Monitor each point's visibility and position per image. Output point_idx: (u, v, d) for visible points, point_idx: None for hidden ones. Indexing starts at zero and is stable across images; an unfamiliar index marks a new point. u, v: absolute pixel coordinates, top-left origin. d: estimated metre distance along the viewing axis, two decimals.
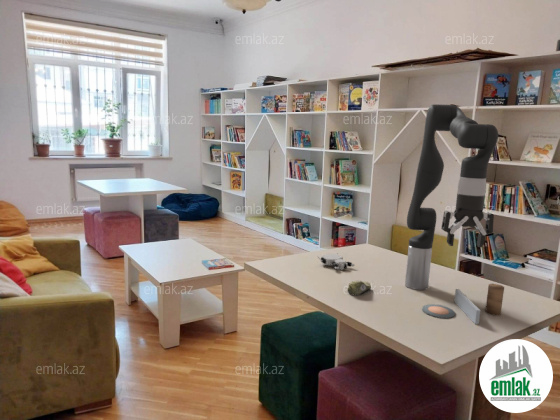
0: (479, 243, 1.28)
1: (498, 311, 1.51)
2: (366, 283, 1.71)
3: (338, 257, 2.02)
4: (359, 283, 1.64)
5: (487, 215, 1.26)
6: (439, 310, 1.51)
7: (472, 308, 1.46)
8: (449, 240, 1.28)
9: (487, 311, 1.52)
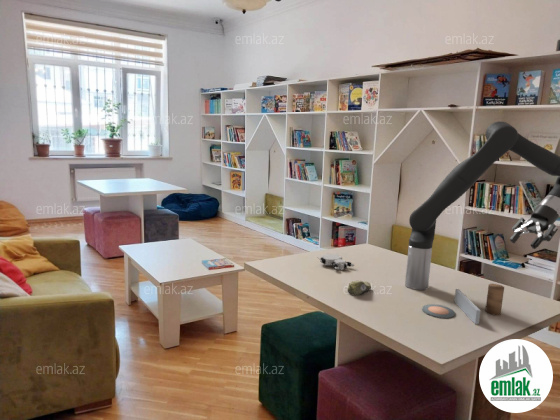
0: (515, 240, 1.56)
1: (498, 311, 1.51)
2: (366, 283, 1.71)
3: (338, 257, 2.02)
4: (359, 283, 1.64)
5: None
6: (439, 310, 1.51)
7: (472, 308, 1.46)
8: None
9: (487, 311, 1.52)
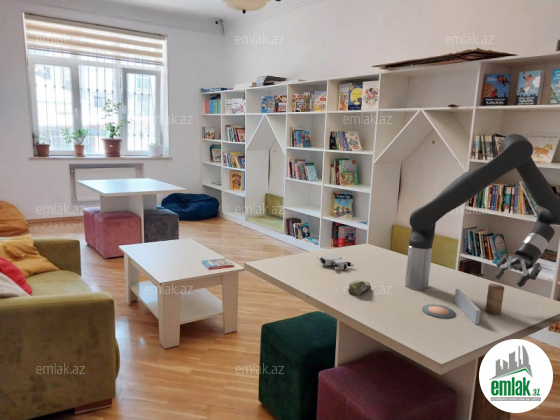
0: (500, 276, 1.58)
1: (498, 311, 1.51)
2: (366, 283, 1.72)
3: (337, 257, 2.02)
4: (360, 283, 1.65)
5: None
6: (439, 310, 1.51)
7: (472, 308, 1.46)
8: None
9: (487, 311, 1.52)
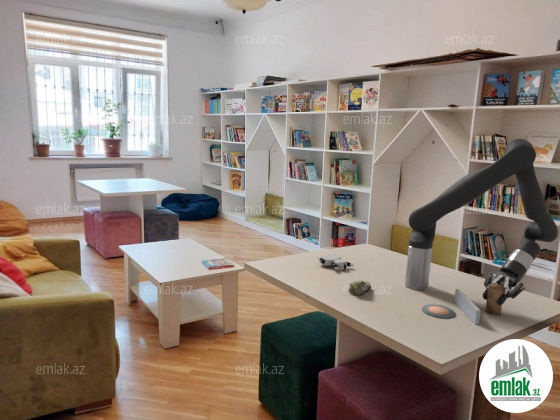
0: None
1: (498, 311, 1.51)
2: (366, 282, 1.72)
3: (337, 257, 2.02)
4: (361, 283, 1.65)
5: None
6: (439, 310, 1.51)
7: (472, 308, 1.46)
8: None
9: (487, 311, 1.52)
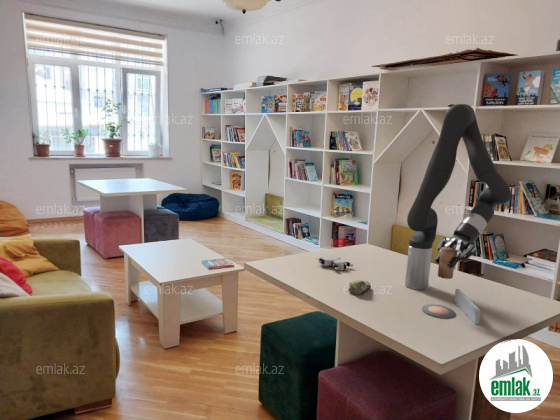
0: None
1: (449, 274, 1.48)
2: (366, 282, 1.72)
3: (336, 257, 2.02)
4: (360, 283, 1.65)
5: None
6: (439, 310, 1.51)
7: (472, 308, 1.46)
8: None
9: (439, 275, 1.49)
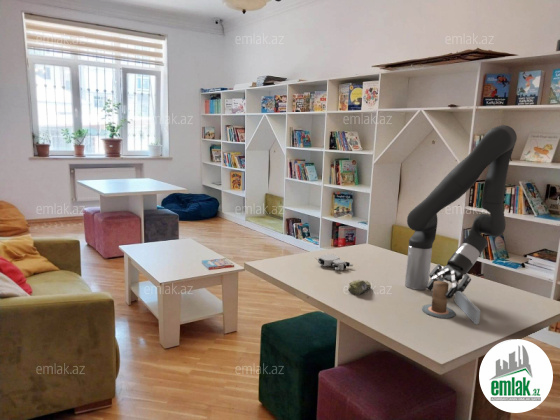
0: (431, 288, 1.54)
1: (443, 308, 1.50)
2: (366, 282, 1.72)
3: (335, 257, 2.01)
4: (360, 282, 1.65)
5: None
6: None
7: (472, 308, 1.46)
8: None
9: (432, 308, 1.51)
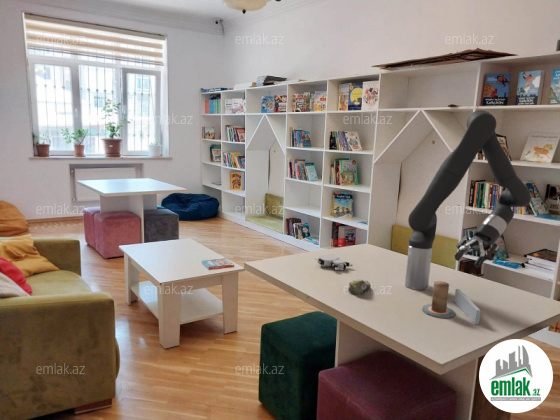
0: (459, 258, 1.58)
1: (443, 309, 1.49)
2: (366, 282, 1.73)
3: (335, 258, 2.01)
4: (360, 282, 1.65)
5: None
6: None
7: (472, 308, 1.46)
8: None
9: (432, 309, 1.51)
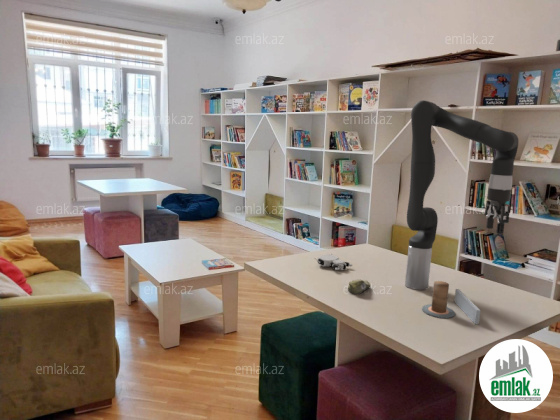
0: (491, 225, 1.61)
1: (443, 309, 1.49)
2: (365, 282, 1.73)
3: (335, 258, 2.01)
4: (360, 282, 1.66)
5: None
6: None
7: (472, 308, 1.46)
8: None
9: (432, 309, 1.51)
